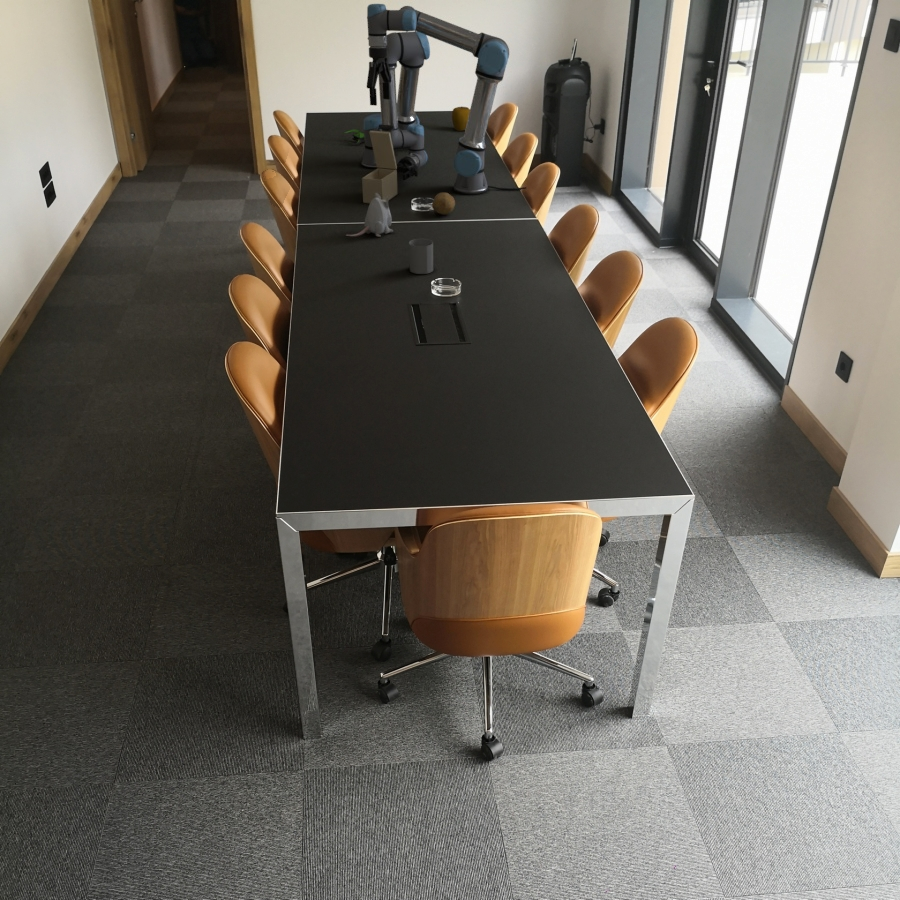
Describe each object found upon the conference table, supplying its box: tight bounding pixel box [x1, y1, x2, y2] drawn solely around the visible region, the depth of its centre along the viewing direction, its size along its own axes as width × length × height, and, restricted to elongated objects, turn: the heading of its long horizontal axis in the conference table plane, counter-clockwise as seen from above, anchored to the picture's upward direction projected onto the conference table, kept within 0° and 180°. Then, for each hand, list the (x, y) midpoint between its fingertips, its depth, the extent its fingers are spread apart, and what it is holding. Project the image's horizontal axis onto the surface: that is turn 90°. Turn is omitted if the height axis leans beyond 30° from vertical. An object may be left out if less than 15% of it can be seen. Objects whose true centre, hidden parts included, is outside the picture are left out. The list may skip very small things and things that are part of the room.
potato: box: [431, 192, 456, 216], centre depth 360 cm, size 10×14×8 cm
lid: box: [369, 124, 397, 170], centre depth 377 cm, size 18×9×9 cm
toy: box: [346, 193, 394, 238], centre depth 334 cm, size 9×24×15 cm, turn 137°
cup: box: [408, 237, 434, 275], centre depth 305 cm, size 8×8×10 cm
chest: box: [361, 168, 398, 204], centre depth 378 cm, size 17×9×10 cm, turn 161°
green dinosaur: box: [343, 129, 365, 146], centre depth 465 cm, size 6×13×30 cm
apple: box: [451, 105, 470, 132], centre depth 487 cm, size 11×11×13 cm
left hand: (389, 175), depth 389 cm, fingers open, 13 cm apart
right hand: (380, 102), depth 363 cm, fingers open, 13 cm apart
